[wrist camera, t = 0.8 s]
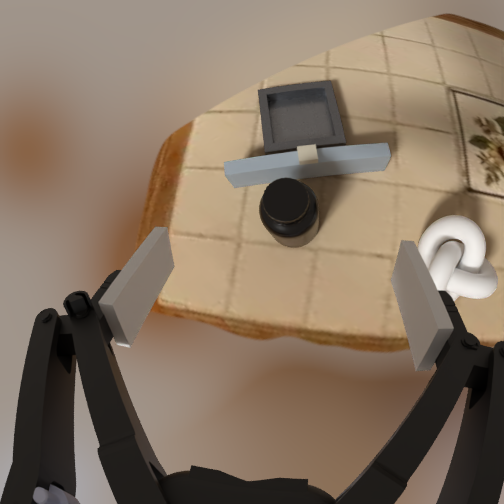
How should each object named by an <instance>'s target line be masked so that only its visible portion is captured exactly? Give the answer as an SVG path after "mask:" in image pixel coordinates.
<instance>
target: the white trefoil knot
mask: <svg viewBox="0 0 504 504" xmlns="http://www.w3.org/2000/svg"><path fill="white" fill-rule="evenodd" d="M450 239H459V240H461V241H462V242H463V243H464V244H463V243H459V242H456V241H447V240H450ZM445 241H447V242H446V243H444V242H445ZM442 243H444V244H443V245H442V246H441V247H440V245H441V244H442ZM439 247H440V249H439ZM438 249H439V250H438ZM418 251H419V253H420V254H421V256H422V258H423V260H424V262H425V264H426V266H427V268H428V271H429V273H430V275H431V277H432V279H433V281H434V283H435V285H436V287H437V290H443V291H446V292H447V293H448V294H449V295H450V296H451V297H452V299H453V301H455V300H456V299H457V298H458V297H459V296H464V297H468V298H474V299H482V298H486V297H489V296H490V295H492V294H493V292H494V291H495V290H496V288H497V284H498V277H497V274H496V271H495V269H494V267H493V266H492V264H491V263H490V262H489V261H488V260H487V259H486V258H485V253H486V241H485V237H484V235H483V233H482V231H481V229H480V227H479V226H478V225H477V224H476V223H475V222H474V221H472V220H470V219H469V218H467V217H464V216H461V215H449V216H445V217H442V218H439V219H438V220H436V221H435V222H433V223H432V224H431V225H430V226H429V227H428V228H427V229H426V230H425V231H424V233H423V234H422V236H421V238H420V240H419V244H418ZM456 265H457V266H456Z"/></svg>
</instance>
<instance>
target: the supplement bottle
mask: <svg viewBox="0 0 504 504" xmlns="http://www.w3.org/2000/svg"><path fill="white" fill-rule="evenodd" d="M259 214H260V218H261V221H262V223H263V225H264V226H265V228H266V229H267V230H268V231H269V233H270V234H271V235H272V236H273V237H274V238H275V240H276V241H278V242H279V243H280V244H282V245H284V246H287V247H291V248H297V247H302V246H304V245H306V244H308V243H309V242H310V241H312V240H313V238H314V237H315V236H316V234H317V231H318V228H319V203H318V200H317V197H316V195H315V193H314V192H313V191H312V190H311V189H310V188H309V187H308V186H307V185H305V184H304V183H302V182H299V181H297V180H296V179H292V178H287V177H285V178H280V179H276V180H275V181H273V182H272V183H270V184H269V186H267V188H266V190H265V191H264V194H263V196H262V198H261V201H260V205H259Z"/></svg>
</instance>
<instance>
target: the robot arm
mask: <svg viewBox="0 0 504 504" xmlns="http://www.w3.org/2000/svg"><path fill="white" fill-rule="evenodd" d="M173 268H174V262H173V256H172V251H171V246H170V240H169V235H168V229H167V227H155V228H154V229H153V230H152V232H151V233H150V234H149V235H148V237H147V238H146V239H145V240H144V242H143V243H142V244H141V246H140V247H139V248H138V249H137V251H136V252H135V253H134V255H133V256H132V257H131V258H130V260H129V261H128V262H127V264H126V265H125V266H124V268H123V269H122V270H116V271H114V272H113V273H112V274H110V275H109V276H108V277H107V279H106V280H105V281H104V283H103V284H102V285H101V286H100V288H99V289H98V291H97V292H96V293H95V295H94V296H93V297H92V299H91V300H90V298H89V295H88V293H87V292H85V291H77V292H73V293H71V294H70V295H68V296H67V297H66V298H65V300H64V303H63V305H64V307H65V309H66V312H67V313H68V315H62V316H59V315H58V313H57V311H56V310H55V309H53V308H48V309H45V310H43V311H41V312H40V313H39V314H38V315H37V317H36V319H35V322H34V326H33V330H32V334H31V338H30V342H29V346H28V351H27V355H26V359H25V365H24V370H23V375H22V380H21V386H20V393H19V399H18V407H17V414H16V423H15V433H14V446H13V463H12V466H11V469H10V472H9V475H8V478H7V481H6V484H5V487H4V491H3V494H2V498H1V501H0V504H80V503H79V501H78V500H77V499H76V498H75V493H76V472H75V454H74V391H75V373H76V360H77V362H78V367H79V372H80V376H81V381H82V385H83V389H84V393H85V397H86V401H87V404H88V408H89V412H90V415H91V419H92V422H93V425H94V429H95V432H96V435H97V438H98V441H99V444H100V447H99V448H98V455H99V458H100V461H101V464H102V467H103V470H104V472H105V475H106V477H107V480H108V482H109V485H110V487H111V490H112V492H113V495H114V497H115V499H116V501H117V504H394V503H395V502H396V501H397V499H398V498H399V497H400V495H401V494H402V493H403V491H404V490H405V488H406V486H407V482H408V480H409V479H410V477H411V476H412V474H413V473H414V472H415V470H416V469H417V467H418V466H419V464H420V463H421V461H422V460H423V458H424V457H425V455H426V454H427V452H428V451H429V449H430V447H431V446H432V444H433V443H434V441H435V439H436V438H437V436H438V434H439V433H440V431H441V429H442V428H443V426H444V424H445V422H446V421H447V419H448V417H449V415H450V413H451V411H452V410H453V408H454V406H455V404H456V402H457V400H458V398H459V396H460V394H461V392H462V390H463V388H464V387H468V394H467V399H466V404H465V409H464V414H463V419H462V423H461V427H460V432H459V435H458V439H457V443H456V447H455V450H454V454H453V457H452V460H451V464H450V467H449V470H448V473H447V476H446V479H445V482H444V485H443V487H442V490H441V493H440V496H439V498H438V501H437V503H436V504H498V502H499V498H500V494H501V490H502V486H503V482H504V341H500V342H497V343H496V344H495V346H494V347H493V348H491V347H487V346H483V345H480V342H479V340H478V339H477V337H475V336H474V335H473V334H471V333H468V332H467V330H466V328H465V325H464V323H463V321H462V318H461V316H460V314H459V312H458V309H457V307H456V306H455V303H454V301H453V299H452V297H451V296H450V295H449V294H448V293H447V292H446V291H443V290H437V287H436V285H435V283H434V281H433V279H432V277H431V275H430V273H429V271H428V268H427V266H426V264H425V262H424V260H423V258H422V256H421V254H420V253H419V251H418V249H417V247H416V245H415V243H414V241H404V240H401V244H400V248H399V252H398V256H397V260H396V263H395V267H394V271H393V274H392V278H391V282H392V285H393V289H394V292H395V295H396V298H397V302H398V305H399V308H400V312H401V315H402V319H403V322H404V326H405V330H406V333H407V337H408V341H409V345H410V349H411V353H412V357H413V361H414V365H415V370H416V371H423V370H431V368H432V366H433V365H434V363H436V367H437V370H436V372H435V374H434V375H433V376H432V378H431V380H430V381H429V383H428V385H427V386H426V388H425V390H424V391H423V393H422V394H421V396H420V397H419V399H418V400H417V402H416V403H415V405H414V406H413V408H412V409H411V411H410V412H409V414H408V415H407V416H406V418H405V419H404V421H403V422H402V423H401V425H400V426H399V427H398V429H397V430H396V431H395V433H394V434H393V435H392V437H391V438H390V439H389V440H388V442H387V443H386V444H385V446H384V447H383V448H382V449H381V450H380V452H379V453H378V454H377V455H376V457H375V458H374V459H373V460H372V461H371V462H370V464H369V465H368V466H367V467H366V468H365V469H364V470H363V472H362V473H361V474H360V475H359V476H358V477H357V478H356V479H355V481H354V482H352V484H351V485H350V486H349V487H348V488H347V489H346V490H345V491H344V492H343V493H342V494H341V495H340V496H339V497H338V498H337V499H336V500H335V499H334V498H333V497H332V496H331V495H329V494H328V493H326V492H325V491H323V490H321V489H319V488H317V487H314V486H311V485H308V479H290V478H274V479H267V480H259V481H245V480H242V479H239V478H237V477H234V476H232V475H229V474H226V473H224V472H221V471H219V470H213V469H207V468H203V467H197V466H191V469H190V471H181V472H176V473H173V474H170V475H167V474H166V472H165V471H164V469H163V467H162V466H161V464H160V463H159V461H158V459H157V457H156V455H155V453H154V451H153V449H152V447H151V445H150V443H149V441H148V438H147V436H146V434H145V432H144V430H143V428H142V425H141V423H140V420H139V418H138V416H137V413H136V411H135V409H134V406H133V404H132V401H131V399H130V396H129V394H128V391H127V388H126V386H125V383H124V380H123V378H122V375H121V372H120V369H119V367H118V364H117V361H116V358H115V355H114V352H113V349H112V346H111V344H110V341H111V340H112V338H113V337H114V339H115V341H116V344H117V345H120V346H125V347H131V345H132V343H133V341H134V340H135V338H136V336H137V334H138V332H139V330H140V328H141V326H142V324H143V323H144V321H145V319H146V317H147V315H148V313H149V311H150V310H151V308H152V306H153V304H154V302H155V300H156V299H157V297H158V295H159V293H160V291H161V290H162V288H163V286H164V284H165V282H166V281H167V279H168V277H169V275H170V274H171V272H172V270H173Z"/></svg>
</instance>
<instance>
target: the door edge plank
mask: <svg viewBox="0 0 504 504" xmlns="http://www.w3.org/2000/svg"><path fill="white" fill-rule="evenodd" d="M390 158H391V154H390V150H389V146H388V143H376V144H362V145H350V146H339V147H328V148H319V149H316V144H314V145H305V146H297V151H294V152H286V153H278V154H271V155H265V156H258V157H251V158H245V159H239V160H233V161H227V162H224V168H225V176H226V178H227V179H228V180H229V181H230V183H231V184H232V185H233V187H234V188H238V187H244V186H251V185H258V184H265V183H272V182H273V181H275V180H276V179H280V178H285V177H287V178H292V179H304V178H312V177H321V176H331V175H341V174H351V173H362V172H374V171H384V170H385V168H386V166H387V164H388V162H389V160H390Z"/></svg>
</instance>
